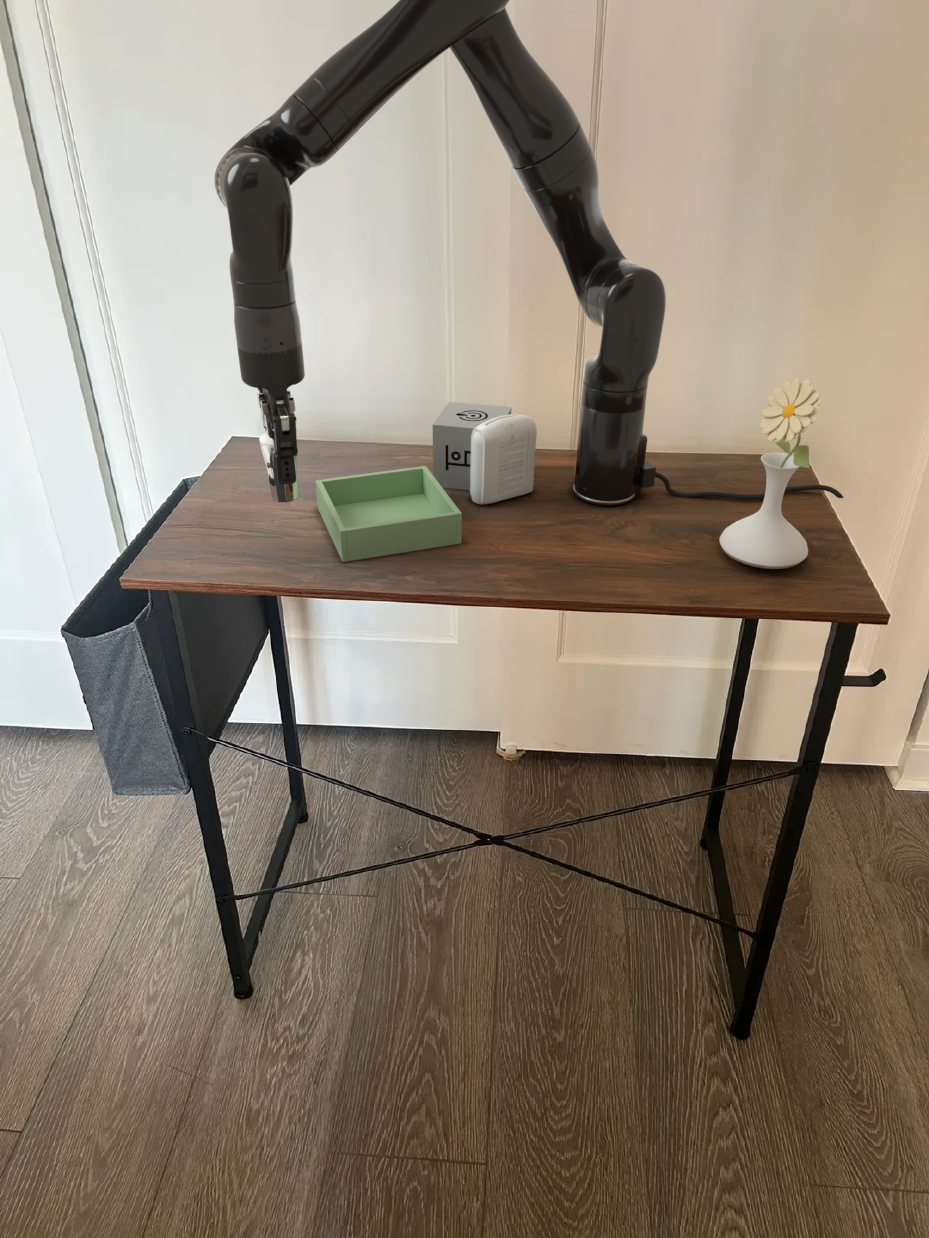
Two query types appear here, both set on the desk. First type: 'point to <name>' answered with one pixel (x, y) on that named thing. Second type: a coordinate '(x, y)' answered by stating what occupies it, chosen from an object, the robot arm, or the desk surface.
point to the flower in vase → (776, 483)
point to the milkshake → (277, 490)
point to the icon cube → (458, 441)
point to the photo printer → (502, 458)
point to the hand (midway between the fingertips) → (284, 474)
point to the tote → (388, 513)
